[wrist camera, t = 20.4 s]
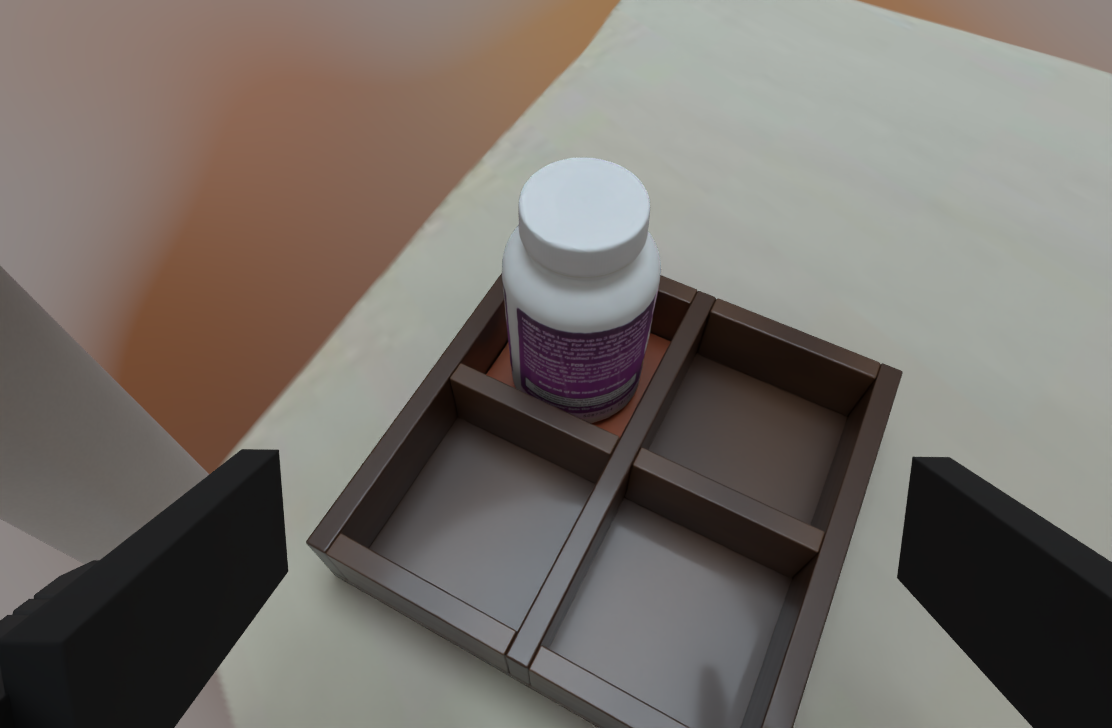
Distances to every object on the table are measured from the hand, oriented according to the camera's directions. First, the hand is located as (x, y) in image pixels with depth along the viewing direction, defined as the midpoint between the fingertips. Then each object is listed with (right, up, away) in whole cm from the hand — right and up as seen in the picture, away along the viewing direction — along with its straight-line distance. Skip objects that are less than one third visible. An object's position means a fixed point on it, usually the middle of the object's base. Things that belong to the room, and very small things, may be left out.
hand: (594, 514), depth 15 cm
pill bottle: (0, +3, +15) cm, 15 cm away
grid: (+2, -2, +13) cm, 13 cm away
